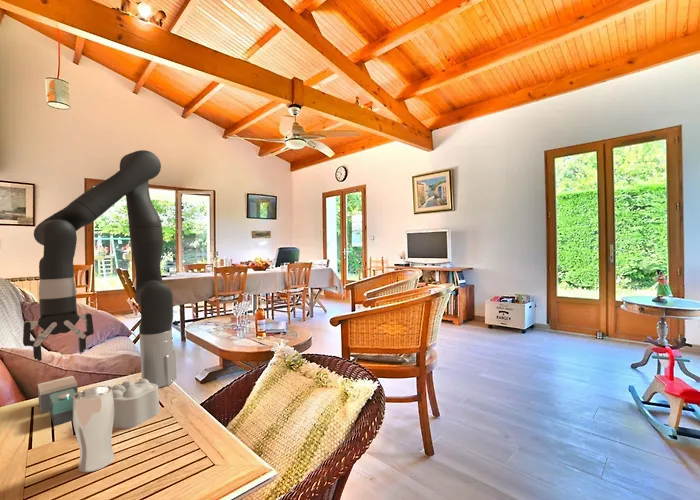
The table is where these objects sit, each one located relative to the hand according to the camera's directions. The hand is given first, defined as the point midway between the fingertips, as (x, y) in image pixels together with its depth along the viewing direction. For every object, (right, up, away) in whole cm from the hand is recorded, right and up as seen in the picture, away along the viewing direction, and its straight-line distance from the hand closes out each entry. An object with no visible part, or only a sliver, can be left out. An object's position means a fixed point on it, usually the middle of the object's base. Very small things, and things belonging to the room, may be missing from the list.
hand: (60, 355), depth 92 cm
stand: (-8, -17, +9) cm, 20 cm away
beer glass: (+24, -16, -20) cm, 35 cm away
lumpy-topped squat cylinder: (+19, -16, 0) cm, 25 cm away
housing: (+1, -17, 0) cm, 17 cm away
